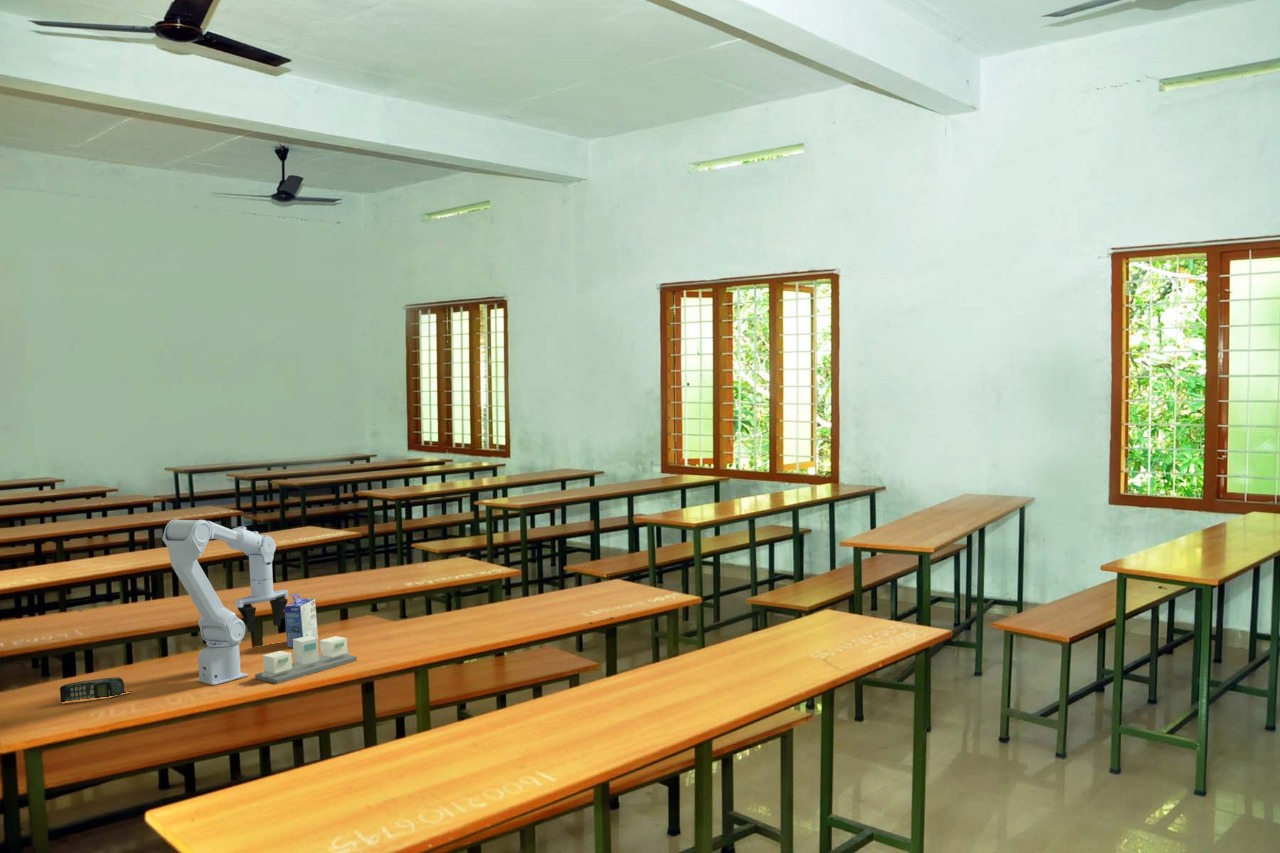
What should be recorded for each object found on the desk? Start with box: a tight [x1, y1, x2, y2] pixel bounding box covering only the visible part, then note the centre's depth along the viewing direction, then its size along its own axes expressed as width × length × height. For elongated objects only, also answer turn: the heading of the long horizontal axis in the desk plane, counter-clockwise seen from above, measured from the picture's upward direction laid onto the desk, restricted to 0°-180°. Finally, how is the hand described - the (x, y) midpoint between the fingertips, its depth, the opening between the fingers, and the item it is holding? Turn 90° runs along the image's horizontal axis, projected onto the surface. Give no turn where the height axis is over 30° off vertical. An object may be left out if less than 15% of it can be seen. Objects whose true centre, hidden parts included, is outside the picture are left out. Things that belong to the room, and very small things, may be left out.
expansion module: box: [292, 636, 320, 665], centre depth 257 cm, size 4×5×6 cm
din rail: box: [262, 650, 350, 678], centre depth 257 cm, size 24×4×1 cm, turn 143°
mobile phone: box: [59, 677, 132, 703], centre depth 238 cm, size 5×3×15 cm
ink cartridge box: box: [284, 592, 319, 648], centre depth 286 cm, size 10×6×14 cm, turn 174°
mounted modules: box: [262, 635, 349, 673], centre depth 257 cm, size 22×5×4 cm, turn 143°
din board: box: [254, 654, 358, 684], centre depth 257 cm, size 24×10×1 cm, turn 143°
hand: (264, 628), depth 265 cm, fingers open, 7 cm apart
